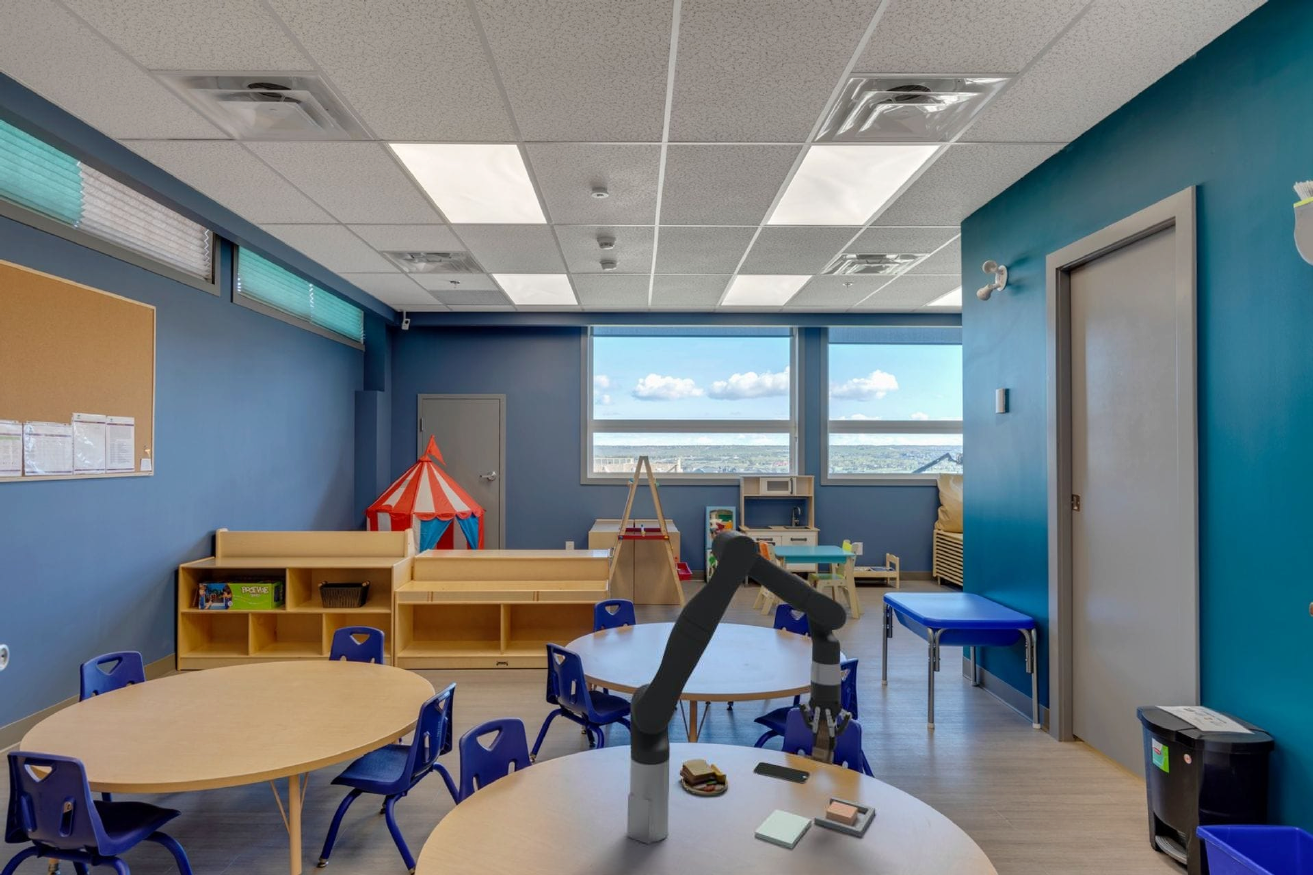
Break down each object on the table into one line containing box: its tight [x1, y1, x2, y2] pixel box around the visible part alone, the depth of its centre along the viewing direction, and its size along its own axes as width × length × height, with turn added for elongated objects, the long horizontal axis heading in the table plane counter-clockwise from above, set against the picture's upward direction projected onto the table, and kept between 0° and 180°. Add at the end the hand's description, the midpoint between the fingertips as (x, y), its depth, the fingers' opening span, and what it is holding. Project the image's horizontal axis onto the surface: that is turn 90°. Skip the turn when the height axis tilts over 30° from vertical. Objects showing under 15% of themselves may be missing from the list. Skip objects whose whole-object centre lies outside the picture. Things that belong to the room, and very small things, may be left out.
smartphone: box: [753, 761, 811, 784], centre depth 190 cm, size 8×1×15 cm
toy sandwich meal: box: [679, 758, 729, 796], centre depth 182 cm, size 12×14×5 cm
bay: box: [813, 795, 876, 838], centre depth 165 cm, size 13×11×1 cm
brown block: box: [803, 720, 835, 766], centre depth 169 cm, size 8×5×11 cm, turn 148°
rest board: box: [754, 808, 812, 849], centre depth 159 cm, size 13×9×1 cm
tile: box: [825, 801, 859, 827], centre depth 165 cm, size 6×6×2 cm
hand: (824, 748), depth 169 cm, fingers closed on brown block, 3 cm apart
